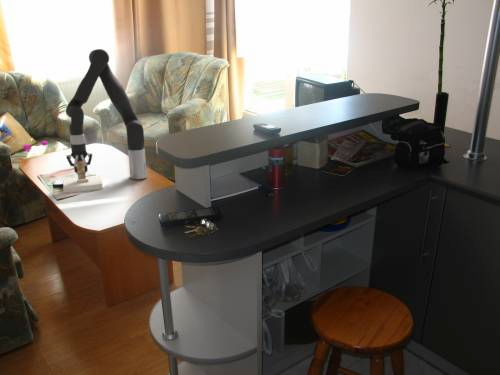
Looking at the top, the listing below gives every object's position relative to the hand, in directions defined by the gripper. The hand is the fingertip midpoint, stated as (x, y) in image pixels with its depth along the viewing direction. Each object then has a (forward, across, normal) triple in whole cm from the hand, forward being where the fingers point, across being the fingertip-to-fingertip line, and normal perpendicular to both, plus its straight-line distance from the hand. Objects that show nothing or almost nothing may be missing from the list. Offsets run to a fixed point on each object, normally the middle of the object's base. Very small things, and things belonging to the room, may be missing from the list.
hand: (81, 172), depth 273 cm
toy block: (+9, +28, -79) cm, 84 cm away
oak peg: (+3, 0, 0) cm, 3 cm away
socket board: (+8, 0, 0) cm, 8 cm away
